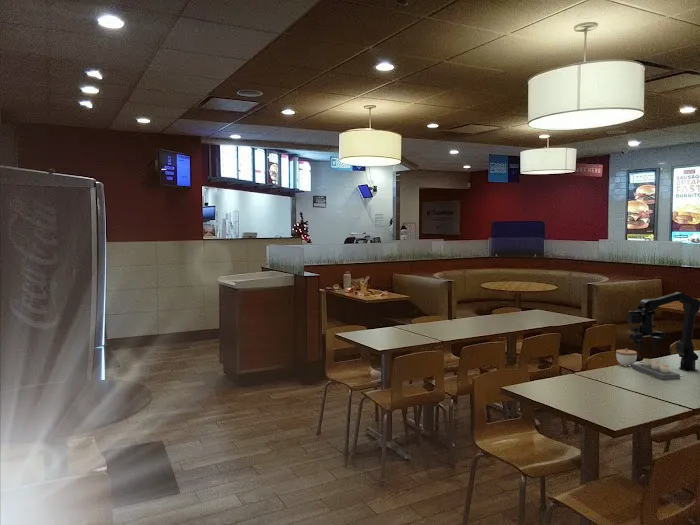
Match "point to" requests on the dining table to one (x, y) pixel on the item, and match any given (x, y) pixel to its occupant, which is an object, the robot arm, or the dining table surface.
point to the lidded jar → (626, 357)
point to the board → (656, 372)
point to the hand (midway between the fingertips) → (647, 351)
